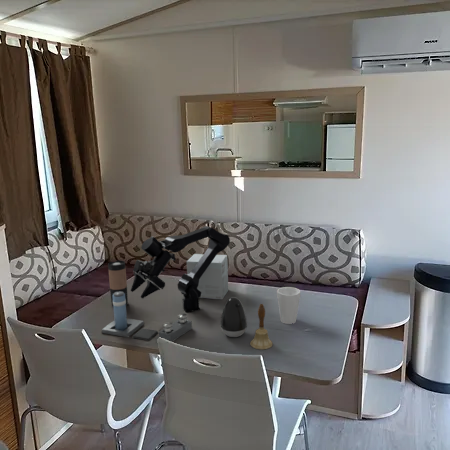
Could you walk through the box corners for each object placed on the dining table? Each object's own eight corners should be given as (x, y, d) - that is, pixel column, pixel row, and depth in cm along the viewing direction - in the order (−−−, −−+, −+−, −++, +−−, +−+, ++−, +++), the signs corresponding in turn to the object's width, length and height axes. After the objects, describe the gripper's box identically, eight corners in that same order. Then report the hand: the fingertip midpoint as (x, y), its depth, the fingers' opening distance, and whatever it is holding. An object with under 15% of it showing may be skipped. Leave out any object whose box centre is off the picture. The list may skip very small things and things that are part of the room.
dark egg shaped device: (228, 342, 170) (228, 305, 166) (216, 331, 178) (215, 295, 175) (252, 336, 174) (252, 299, 171) (239, 326, 183) (238, 290, 180)
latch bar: (181, 325, 185) (180, 318, 184) (191, 328, 182) (191, 321, 181) (158, 339, 173) (158, 331, 172) (169, 342, 170) (169, 335, 170)
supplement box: (229, 289, 223) (228, 254, 219) (222, 300, 211) (221, 262, 206) (195, 287, 227) (194, 253, 223) (187, 297, 214) (185, 261, 210)
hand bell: (277, 345, 167) (277, 304, 164) (259, 352, 162) (259, 310, 159) (262, 336, 174) (262, 297, 170) (245, 343, 169) (245, 303, 165)
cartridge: (127, 326, 185) (124, 290, 182) (128, 331, 180) (125, 294, 177) (114, 328, 184) (111, 292, 180) (115, 333, 179) (112, 296, 176)
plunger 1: (171, 332, 176) (171, 321, 175) (173, 336, 172) (173, 325, 171) (162, 333, 175) (162, 323, 174) (164, 337, 171) (163, 327, 170)
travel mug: (124, 308, 203) (120, 265, 199) (108, 307, 205) (104, 265, 200) (130, 301, 211) (127, 260, 206) (115, 300, 212) (112, 260, 208)
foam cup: (286, 314, 194) (286, 285, 191) (304, 320, 187) (305, 290, 184) (272, 321, 187) (272, 291, 184) (290, 327, 181) (290, 297, 178)
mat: (157, 332, 179) (157, 330, 179) (148, 340, 173) (148, 338, 172) (142, 330, 181) (142, 328, 181) (132, 337, 175) (132, 335, 175)
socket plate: (143, 324, 187) (143, 320, 186) (127, 337, 176) (127, 333, 175) (119, 320, 191) (118, 317, 190) (101, 332, 180) (101, 329, 180)
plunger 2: (186, 323, 183) (185, 313, 182) (188, 326, 180) (187, 316, 179) (177, 324, 182) (176, 314, 181) (179, 328, 179) (178, 318, 178)
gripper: (135, 247, 190) (112, 278, 186) (156, 257, 175) (132, 291, 171) (153, 262, 196) (131, 291, 192) (175, 272, 182) (152, 305, 178)
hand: (136, 294), depth 183 cm, fingers open, 9 cm apart
